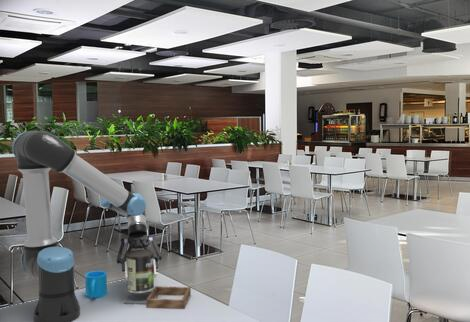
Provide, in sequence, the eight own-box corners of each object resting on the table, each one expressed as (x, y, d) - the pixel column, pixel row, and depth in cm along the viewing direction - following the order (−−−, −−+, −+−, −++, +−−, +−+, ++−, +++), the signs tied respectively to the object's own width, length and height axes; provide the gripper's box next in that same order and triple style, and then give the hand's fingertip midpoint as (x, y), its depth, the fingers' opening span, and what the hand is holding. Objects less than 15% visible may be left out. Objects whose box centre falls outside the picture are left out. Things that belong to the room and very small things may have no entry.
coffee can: (158, 284, 181) (157, 250, 180) (148, 294, 171) (147, 257, 170) (133, 283, 183) (133, 248, 182) (122, 292, 173) (121, 256, 172)
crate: (146, 307, 168) (146, 299, 168) (155, 293, 182) (155, 286, 182) (184, 308, 167) (184, 300, 167) (190, 294, 181) (190, 287, 181)
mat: (123, 303, 172) (123, 302, 172) (133, 292, 184) (132, 290, 183) (147, 304, 171) (147, 303, 171) (155, 292, 183) (155, 291, 183)
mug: (87, 291, 185) (87, 271, 184) (108, 290, 186) (108, 270, 185) (81, 302, 173) (81, 281, 172) (103, 301, 174) (103, 280, 173)
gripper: (164, 230, 194) (169, 278, 180) (108, 234, 187) (110, 284, 174) (165, 220, 188) (171, 269, 174) (108, 224, 182) (110, 275, 168)
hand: (141, 277), depth 174 cm, fingers closed on coffee can, 10 cm apart
